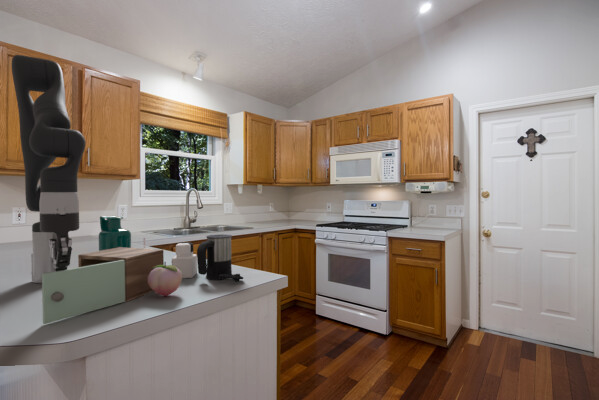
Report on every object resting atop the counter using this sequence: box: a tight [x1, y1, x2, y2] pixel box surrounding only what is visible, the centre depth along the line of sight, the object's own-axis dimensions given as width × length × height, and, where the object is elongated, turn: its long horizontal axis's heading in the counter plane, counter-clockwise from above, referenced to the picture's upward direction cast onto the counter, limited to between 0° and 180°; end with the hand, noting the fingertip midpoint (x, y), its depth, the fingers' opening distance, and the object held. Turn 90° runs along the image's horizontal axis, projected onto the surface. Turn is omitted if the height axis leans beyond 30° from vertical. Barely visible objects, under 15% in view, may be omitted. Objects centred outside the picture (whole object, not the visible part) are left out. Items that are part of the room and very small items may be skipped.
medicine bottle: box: [171, 241, 198, 279], centre depth 112 cm, size 7×7×12 cm
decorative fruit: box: [148, 261, 183, 297], centre depth 89 cm, size 9×8×10 cm
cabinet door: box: [41, 260, 126, 325], centre depth 76 cm, size 18×2×11 cm, turn 146°
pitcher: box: [98, 215, 132, 251], centre depth 111 cm, size 10×8×22 cm
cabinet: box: [77, 247, 165, 302], centre depth 94 cm, size 18×14×12 cm
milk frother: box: [196, 234, 244, 283], centre depth 107 cm, size 14×16×15 cm
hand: (61, 282), depth 75 cm, fingers closed
